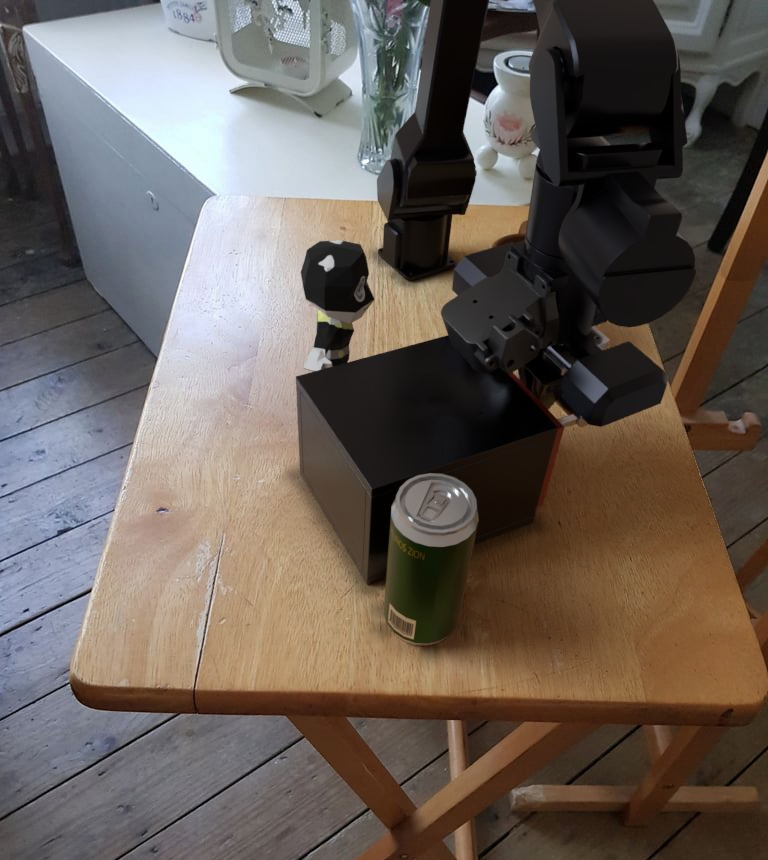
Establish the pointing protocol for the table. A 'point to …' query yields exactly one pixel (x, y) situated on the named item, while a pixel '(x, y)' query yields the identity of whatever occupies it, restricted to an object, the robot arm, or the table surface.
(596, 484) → the table surface
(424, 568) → the beer can
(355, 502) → the cabinet
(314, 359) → the toy
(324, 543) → the table surface
